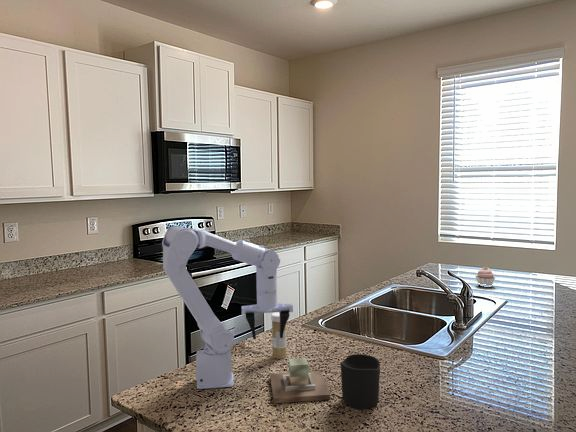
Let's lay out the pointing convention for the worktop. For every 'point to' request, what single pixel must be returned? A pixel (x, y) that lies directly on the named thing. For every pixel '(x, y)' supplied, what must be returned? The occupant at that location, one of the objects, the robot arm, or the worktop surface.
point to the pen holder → (360, 381)
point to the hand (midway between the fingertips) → (267, 337)
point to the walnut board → (299, 388)
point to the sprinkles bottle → (278, 337)
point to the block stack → (298, 371)
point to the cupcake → (485, 276)
